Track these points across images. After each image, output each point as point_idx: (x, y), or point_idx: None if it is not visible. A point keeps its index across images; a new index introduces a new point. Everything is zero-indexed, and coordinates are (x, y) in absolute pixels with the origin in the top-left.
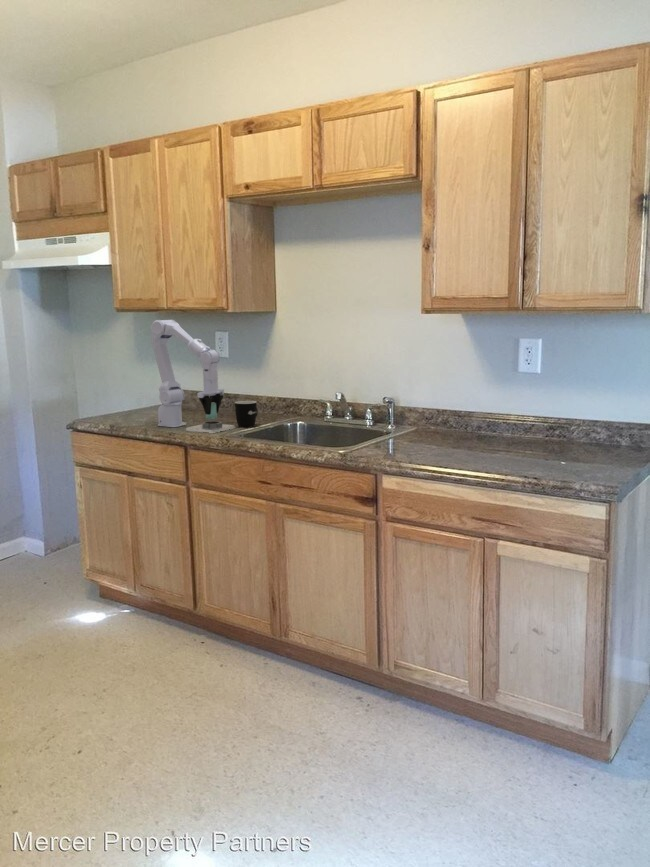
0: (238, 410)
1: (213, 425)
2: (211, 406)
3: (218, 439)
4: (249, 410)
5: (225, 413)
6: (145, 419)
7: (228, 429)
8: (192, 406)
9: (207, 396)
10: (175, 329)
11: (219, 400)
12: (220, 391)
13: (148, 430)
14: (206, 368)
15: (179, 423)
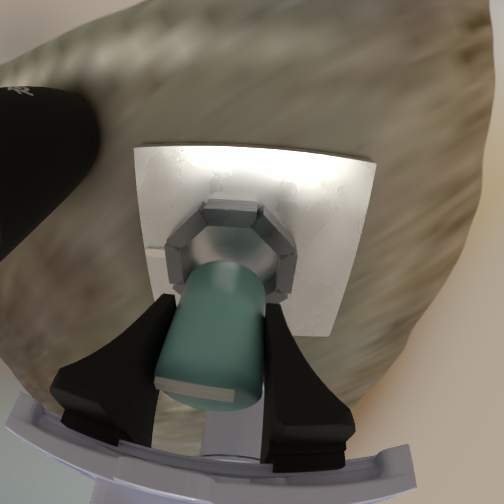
0: (39, 171)
1: (278, 226)
2: (247, 352)
3: (486, 65)
4: (10, 91)
5: (17, 346)
6: (198, 443)
7: (207, 143)
8: (48, 407)
9: (298, 462)
10: None
11: (120, 365)
12: (59, 445)
13: (347, 400)
14: None
15: None
